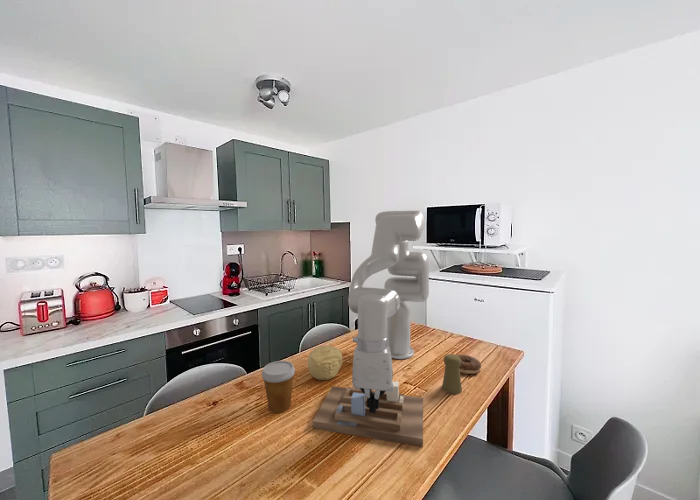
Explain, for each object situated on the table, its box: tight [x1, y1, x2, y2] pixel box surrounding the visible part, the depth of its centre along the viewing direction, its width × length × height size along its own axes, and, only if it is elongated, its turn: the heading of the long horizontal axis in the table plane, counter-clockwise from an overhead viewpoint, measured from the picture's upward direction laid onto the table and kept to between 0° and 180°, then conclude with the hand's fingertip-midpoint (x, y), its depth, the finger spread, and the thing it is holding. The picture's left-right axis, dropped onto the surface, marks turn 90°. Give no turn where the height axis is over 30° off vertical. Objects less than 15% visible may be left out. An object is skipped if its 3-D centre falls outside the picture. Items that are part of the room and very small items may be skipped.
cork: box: [441, 353, 463, 395], centre depth 94 cm, size 6×6×11 cm
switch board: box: [312, 385, 424, 448], centre depth 81 cm, size 17×28×3 cm, turn 76°
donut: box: [456, 354, 482, 375], centre depth 107 cm, size 11×11×4 cm
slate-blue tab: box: [351, 392, 365, 416], centre depth 78 cm, size 3×3×6 cm
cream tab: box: [387, 380, 400, 402], centre depth 83 cm, size 3×3×6 cm
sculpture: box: [307, 344, 343, 381], centre depth 103 cm, size 11×12×11 cm
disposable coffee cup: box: [261, 360, 296, 414], centre depth 85 cm, size 10×10×12 cm
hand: (373, 410), depth 77 cm, fingers closed
